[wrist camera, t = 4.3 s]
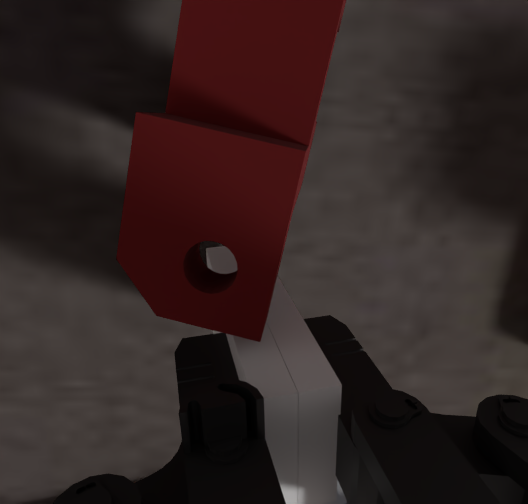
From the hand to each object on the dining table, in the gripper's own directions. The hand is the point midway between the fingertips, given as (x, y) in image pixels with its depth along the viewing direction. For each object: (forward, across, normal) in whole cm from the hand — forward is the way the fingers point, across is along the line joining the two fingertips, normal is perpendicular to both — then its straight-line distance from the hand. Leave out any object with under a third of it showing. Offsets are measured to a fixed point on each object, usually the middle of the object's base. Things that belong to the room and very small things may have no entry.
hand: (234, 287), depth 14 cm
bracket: (-2, -1, +1) cm, 3 cm away
